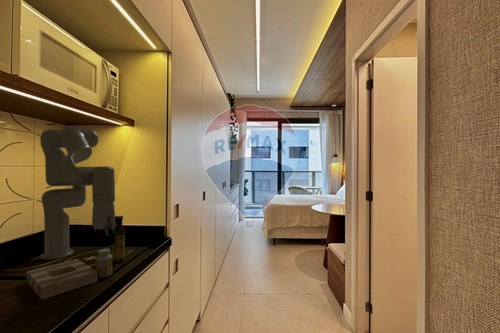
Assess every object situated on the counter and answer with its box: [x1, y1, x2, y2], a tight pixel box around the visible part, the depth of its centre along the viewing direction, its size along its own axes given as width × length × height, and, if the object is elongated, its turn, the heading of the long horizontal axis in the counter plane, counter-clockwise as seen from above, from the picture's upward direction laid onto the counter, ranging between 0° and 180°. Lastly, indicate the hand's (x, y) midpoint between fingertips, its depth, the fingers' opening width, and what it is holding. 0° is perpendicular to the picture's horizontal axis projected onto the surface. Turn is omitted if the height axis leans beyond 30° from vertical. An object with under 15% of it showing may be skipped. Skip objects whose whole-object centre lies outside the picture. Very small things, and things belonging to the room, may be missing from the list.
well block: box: [26, 258, 98, 300], centre depth 93 cm, size 20×16×4 cm
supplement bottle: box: [95, 248, 113, 279], centre depth 98 cm, size 5×5×10 cm
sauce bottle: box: [108, 215, 126, 264], centre depth 114 cm, size 6×6×20 cm
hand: (104, 243), depth 98 cm, fingers open, 9 cm apart
